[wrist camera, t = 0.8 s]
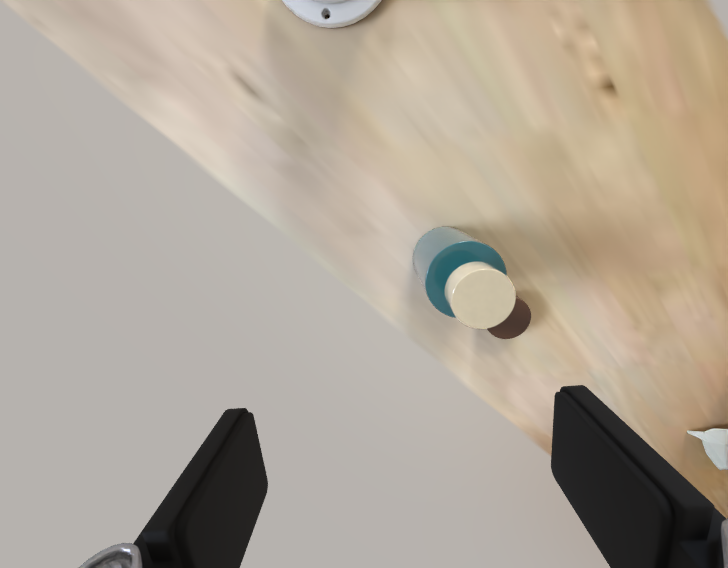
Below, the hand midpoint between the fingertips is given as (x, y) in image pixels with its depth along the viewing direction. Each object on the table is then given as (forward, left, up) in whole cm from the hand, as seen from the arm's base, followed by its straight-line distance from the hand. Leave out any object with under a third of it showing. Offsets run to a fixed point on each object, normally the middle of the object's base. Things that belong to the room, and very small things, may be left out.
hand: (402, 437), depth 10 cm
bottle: (0, +7, -30) cm, 31 cm away
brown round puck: (+6, +15, -30) cm, 34 cm away
